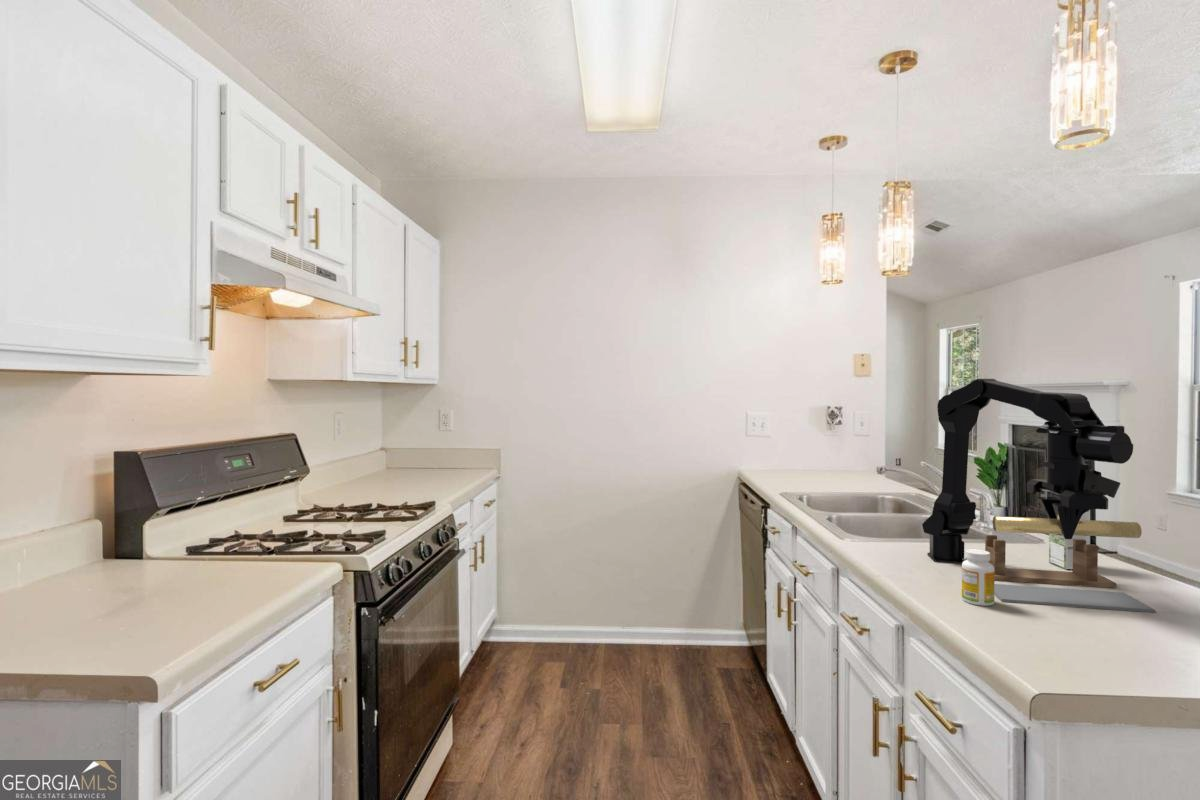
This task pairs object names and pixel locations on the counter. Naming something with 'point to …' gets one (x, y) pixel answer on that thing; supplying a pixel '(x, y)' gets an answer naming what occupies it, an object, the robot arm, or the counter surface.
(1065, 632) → the counter surface
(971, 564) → the supplement bottle
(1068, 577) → the cradle rack
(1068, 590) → the slate mat
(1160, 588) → the counter surface
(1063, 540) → the syrup box
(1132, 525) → the brass rail
